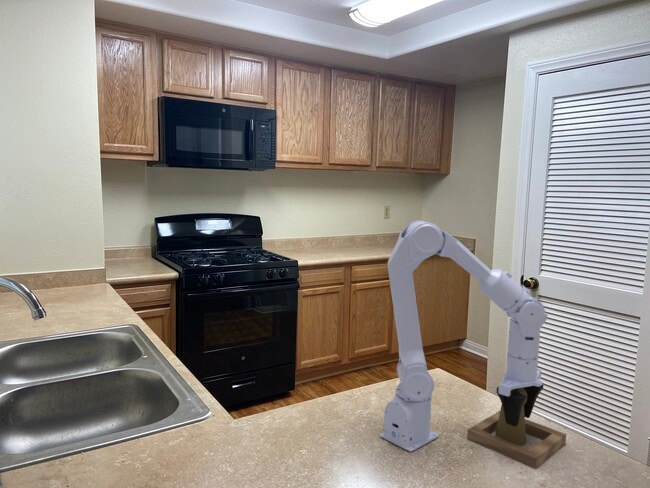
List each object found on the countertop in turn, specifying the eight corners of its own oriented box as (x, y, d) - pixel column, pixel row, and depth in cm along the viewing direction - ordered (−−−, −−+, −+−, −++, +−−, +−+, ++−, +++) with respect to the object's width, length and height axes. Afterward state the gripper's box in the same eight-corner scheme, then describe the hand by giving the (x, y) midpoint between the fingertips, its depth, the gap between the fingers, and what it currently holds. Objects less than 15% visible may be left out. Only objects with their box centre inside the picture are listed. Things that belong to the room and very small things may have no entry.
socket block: (535, 468, 87) (536, 458, 87) (467, 438, 98) (467, 429, 97) (565, 443, 97) (566, 434, 97) (500, 418, 107) (501, 410, 107)
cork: (527, 448, 95) (531, 395, 93) (495, 442, 96) (498, 390, 95) (525, 433, 100) (528, 383, 99) (494, 428, 102) (497, 379, 101)
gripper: (526, 369, 88) (520, 439, 89) (558, 353, 97) (552, 416, 99) (490, 358, 93) (485, 425, 94) (524, 344, 103) (519, 405, 104)
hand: (517, 420), depth 97 cm, fingers closed on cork, 5 cm apart
